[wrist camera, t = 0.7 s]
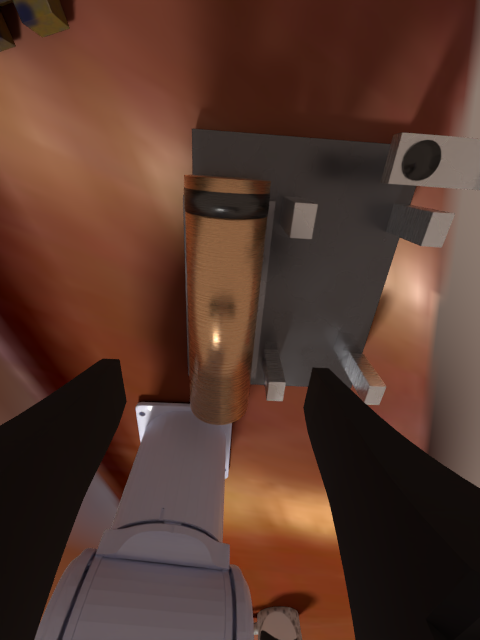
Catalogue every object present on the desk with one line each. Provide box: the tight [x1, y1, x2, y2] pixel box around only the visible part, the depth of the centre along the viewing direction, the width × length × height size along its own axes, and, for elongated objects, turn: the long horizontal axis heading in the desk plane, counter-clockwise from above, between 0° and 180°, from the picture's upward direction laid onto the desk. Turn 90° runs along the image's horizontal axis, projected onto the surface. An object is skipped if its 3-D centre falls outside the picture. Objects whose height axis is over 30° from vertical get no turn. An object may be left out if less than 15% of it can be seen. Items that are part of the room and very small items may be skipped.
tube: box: [184, 175, 271, 425], centre depth 16 cm, size 14×4×4 cm, turn 176°
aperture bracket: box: [381, 132, 480, 190], centre depth 12 cm, size 2×4×6 cm, turn 86°
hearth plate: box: [183, 129, 416, 388], centre depth 18 cm, size 16×12×2 cm
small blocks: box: [262, 196, 455, 405], centre depth 17 cm, size 12×7×4 cm, turn 176°
